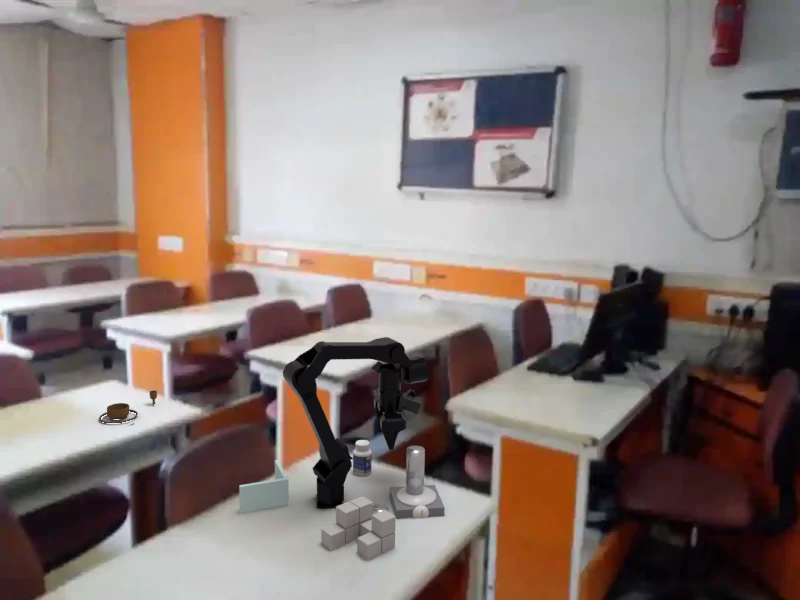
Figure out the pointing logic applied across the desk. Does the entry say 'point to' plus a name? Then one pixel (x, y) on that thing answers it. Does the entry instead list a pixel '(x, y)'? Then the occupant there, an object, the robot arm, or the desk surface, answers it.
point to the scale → (416, 503)
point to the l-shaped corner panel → (265, 492)
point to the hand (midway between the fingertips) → (388, 442)
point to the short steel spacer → (380, 508)
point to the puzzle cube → (361, 529)
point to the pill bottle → (362, 458)
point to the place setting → (123, 410)
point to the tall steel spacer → (415, 470)
